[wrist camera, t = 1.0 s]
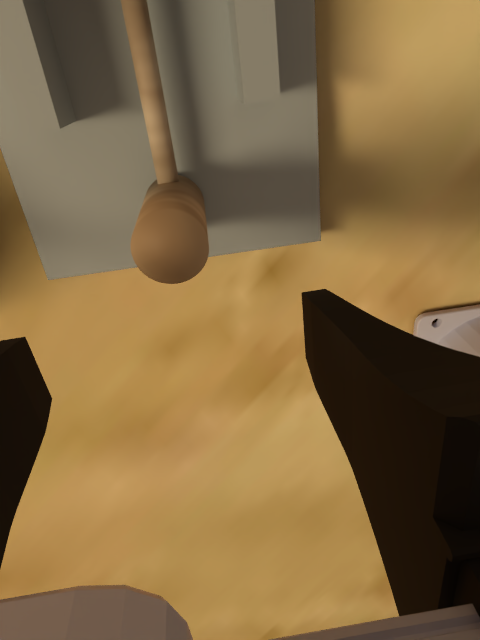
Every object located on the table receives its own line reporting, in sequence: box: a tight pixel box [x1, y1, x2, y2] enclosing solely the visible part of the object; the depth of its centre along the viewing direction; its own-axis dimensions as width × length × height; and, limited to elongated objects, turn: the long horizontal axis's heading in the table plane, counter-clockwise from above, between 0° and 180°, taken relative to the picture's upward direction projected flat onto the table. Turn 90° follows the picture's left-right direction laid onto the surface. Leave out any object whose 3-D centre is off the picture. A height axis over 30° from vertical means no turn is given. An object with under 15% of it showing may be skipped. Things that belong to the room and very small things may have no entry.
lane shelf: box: [0, 0, 321, 280], centre depth 14 cm, size 12×18×4 cm, turn 7°
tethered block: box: [121, 0, 209, 284], centre depth 13 cm, size 4×14×5 cm, turn 7°
